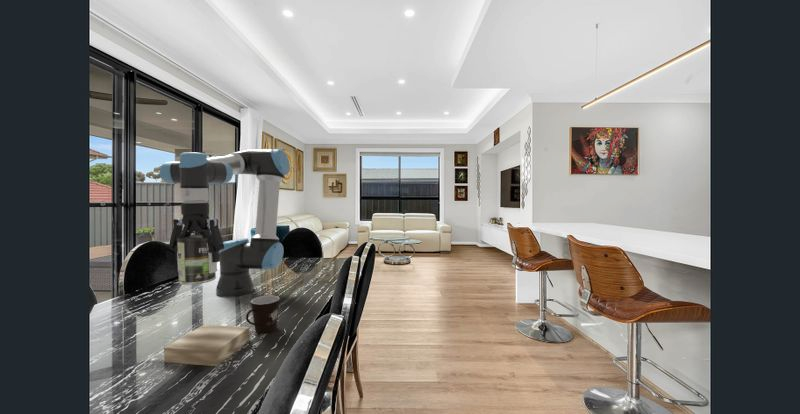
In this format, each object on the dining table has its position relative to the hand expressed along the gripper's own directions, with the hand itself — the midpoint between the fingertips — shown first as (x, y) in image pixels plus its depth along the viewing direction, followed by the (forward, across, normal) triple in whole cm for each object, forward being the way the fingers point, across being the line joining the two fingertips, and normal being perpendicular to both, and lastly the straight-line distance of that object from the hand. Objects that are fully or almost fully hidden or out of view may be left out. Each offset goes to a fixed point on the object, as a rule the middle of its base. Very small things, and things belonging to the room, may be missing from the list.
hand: (197, 271), depth 106 cm
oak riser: (+20, +12, -11) cm, 26 cm away
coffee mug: (+20, +20, +3) cm, 28 cm away
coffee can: (+3, 0, 0) cm, 3 cm away
